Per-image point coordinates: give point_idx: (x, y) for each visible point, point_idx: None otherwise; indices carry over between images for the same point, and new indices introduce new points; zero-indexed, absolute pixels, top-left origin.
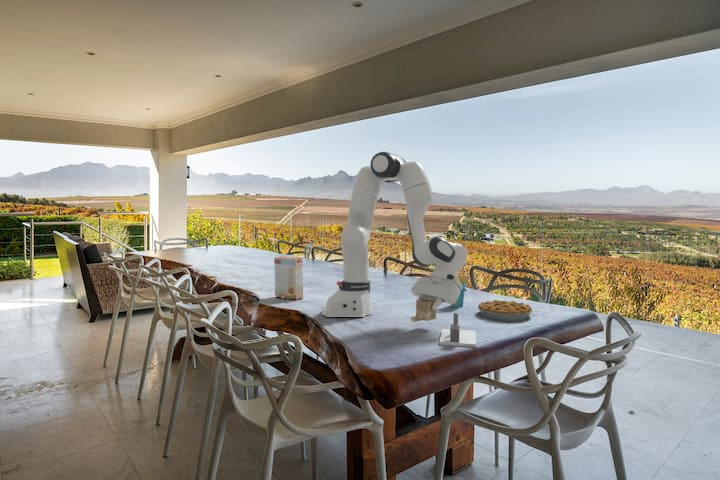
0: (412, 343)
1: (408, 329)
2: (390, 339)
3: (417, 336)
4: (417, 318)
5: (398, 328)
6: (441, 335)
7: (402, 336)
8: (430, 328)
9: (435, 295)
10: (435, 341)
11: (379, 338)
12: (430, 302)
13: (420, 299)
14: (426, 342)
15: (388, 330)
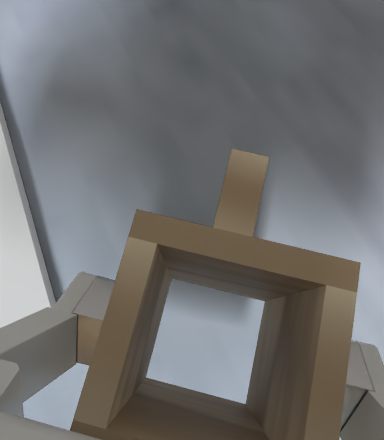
0: (129, 21)
1: (286, 235)
2: (259, 21)
3: (161, 134)
4: (221, 192)
5: (353, 220)
6: (7, 165)
7: (235, 92)
8: (168, 348)
9: (21, 431)
10: (30, 105)
11: (315, 9)
12: (116, 285)
13: (338, 354)
14: (69, 67)
15: (374, 149)
